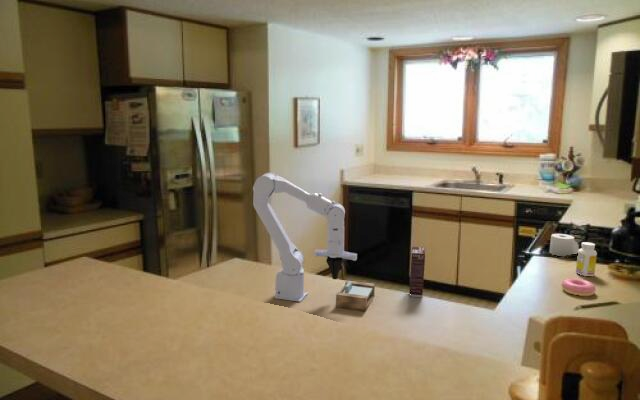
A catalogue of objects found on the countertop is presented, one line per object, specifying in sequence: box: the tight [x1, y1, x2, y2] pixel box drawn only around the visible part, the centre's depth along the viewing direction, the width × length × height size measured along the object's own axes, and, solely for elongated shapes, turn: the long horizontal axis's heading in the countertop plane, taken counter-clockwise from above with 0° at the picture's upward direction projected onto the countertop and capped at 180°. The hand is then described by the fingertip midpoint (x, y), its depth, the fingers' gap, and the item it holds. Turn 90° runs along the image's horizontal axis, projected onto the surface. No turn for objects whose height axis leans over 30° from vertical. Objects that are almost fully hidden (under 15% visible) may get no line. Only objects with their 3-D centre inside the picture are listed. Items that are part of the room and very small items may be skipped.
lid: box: [343, 280, 373, 299], centre depth 163 cm, size 9×11×3 cm
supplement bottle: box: [575, 241, 598, 277], centre depth 193 cm, size 7×7×13 cm
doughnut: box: [561, 277, 597, 297], centre depth 175 cm, size 11×11×4 cm
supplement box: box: [408, 246, 426, 298], centre depth 171 cm, size 9×5×16 cm, turn 168°
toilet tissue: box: [548, 233, 580, 257], centre depth 221 cm, size 9×13×9 cm
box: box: [335, 280, 376, 313], centre depth 164 cm, size 10×14×4 cm
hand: (335, 278), depth 165 cm, fingers closed
